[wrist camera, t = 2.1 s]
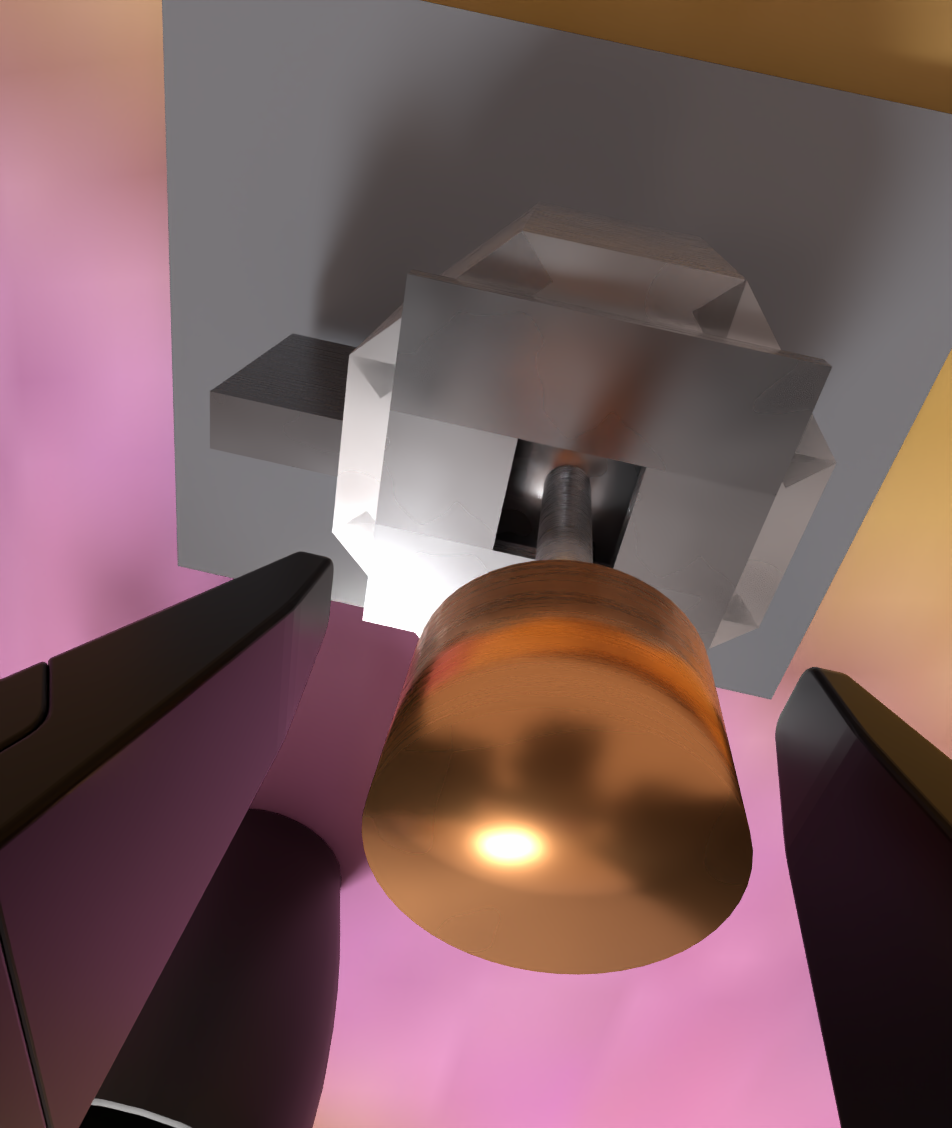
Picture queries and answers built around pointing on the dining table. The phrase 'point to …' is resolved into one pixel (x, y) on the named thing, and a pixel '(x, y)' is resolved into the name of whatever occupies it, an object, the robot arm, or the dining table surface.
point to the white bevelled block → (554, 416)
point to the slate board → (505, 192)
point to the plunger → (560, 751)
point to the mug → (239, 995)
